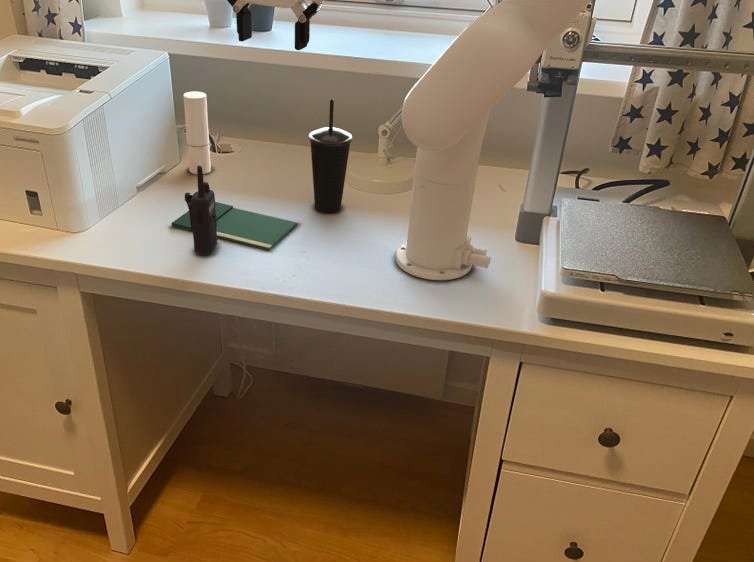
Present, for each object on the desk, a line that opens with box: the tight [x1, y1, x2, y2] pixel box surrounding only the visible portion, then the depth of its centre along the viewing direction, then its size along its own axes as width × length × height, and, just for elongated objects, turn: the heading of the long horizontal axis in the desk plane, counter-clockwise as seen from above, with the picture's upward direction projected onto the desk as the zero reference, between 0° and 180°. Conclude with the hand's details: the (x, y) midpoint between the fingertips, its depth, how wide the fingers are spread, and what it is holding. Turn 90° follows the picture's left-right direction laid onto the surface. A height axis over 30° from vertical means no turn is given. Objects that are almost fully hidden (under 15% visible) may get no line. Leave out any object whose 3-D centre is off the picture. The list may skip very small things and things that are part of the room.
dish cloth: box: [171, 201, 298, 251], centre depth 133 cm, size 19×11×1 cm, turn 67°
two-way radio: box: [184, 166, 218, 256], centre depth 121 cm, size 6×4×15 cm
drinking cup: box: [308, 98, 353, 214], centre depth 135 cm, size 8×8×20 cm
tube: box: [182, 90, 212, 175], centre depth 148 cm, size 4×4×15 cm
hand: (272, 43), depth 117 cm, fingers open, 9 cm apart
